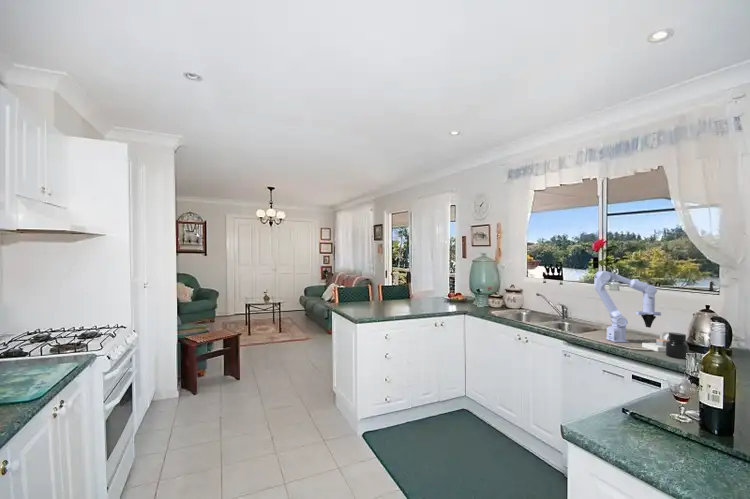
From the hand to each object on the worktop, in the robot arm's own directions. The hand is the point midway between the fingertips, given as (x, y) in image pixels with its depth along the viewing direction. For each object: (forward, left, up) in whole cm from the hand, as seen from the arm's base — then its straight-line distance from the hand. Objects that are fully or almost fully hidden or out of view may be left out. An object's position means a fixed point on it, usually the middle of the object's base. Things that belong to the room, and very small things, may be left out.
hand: (648, 327), depth 210 cm
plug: (-4, -14, -10) cm, 17 cm away
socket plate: (-4, -14, -10) cm, 18 cm away
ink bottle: (-11, -29, -10) cm, 33 cm away
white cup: (+14, +2, -6) cm, 16 cm away
